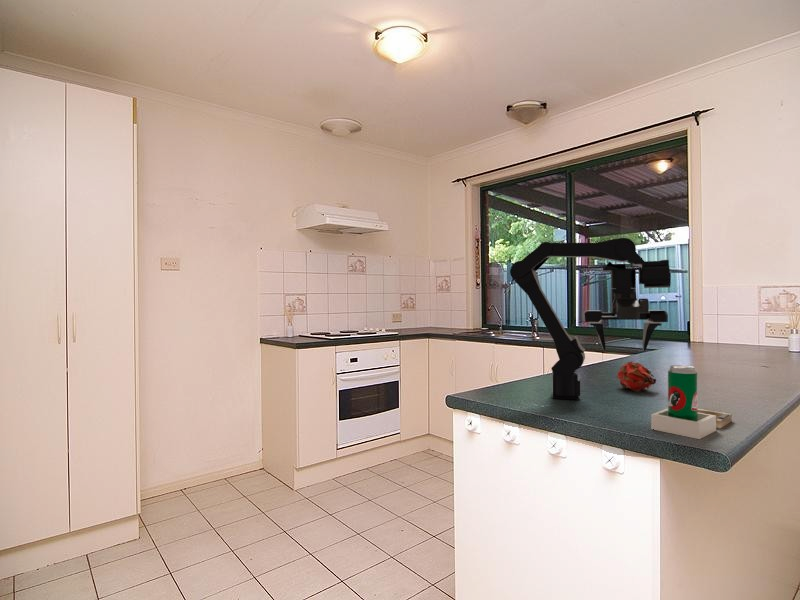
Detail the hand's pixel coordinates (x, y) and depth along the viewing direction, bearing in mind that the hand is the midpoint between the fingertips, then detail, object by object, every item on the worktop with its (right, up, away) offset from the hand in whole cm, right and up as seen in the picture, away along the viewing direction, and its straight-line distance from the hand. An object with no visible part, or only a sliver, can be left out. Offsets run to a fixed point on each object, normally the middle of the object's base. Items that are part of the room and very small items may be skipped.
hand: (623, 350), depth 117 cm
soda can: (0, -13, -24) cm, 27 cm away
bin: (0, -13, -24) cm, 28 cm away
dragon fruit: (+11, -13, +15) cm, 22 cm away
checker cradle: (+8, -13, -18) cm, 24 cm away
